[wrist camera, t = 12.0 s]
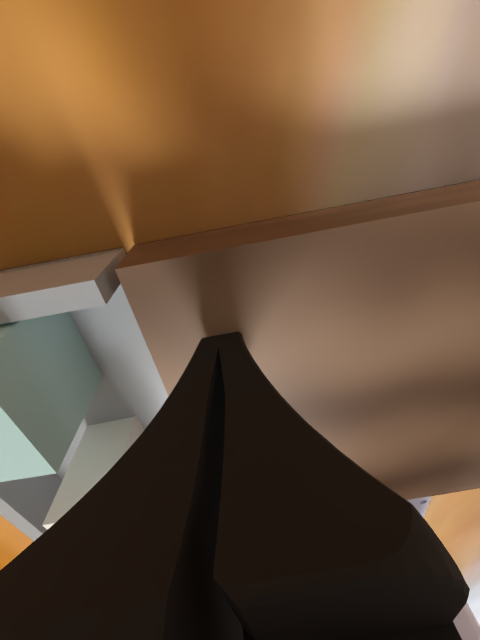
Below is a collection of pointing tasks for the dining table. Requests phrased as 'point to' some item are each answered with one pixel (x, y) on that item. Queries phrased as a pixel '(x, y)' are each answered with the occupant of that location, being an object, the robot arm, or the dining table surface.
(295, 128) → the dining table surface
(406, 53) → the dining table surface
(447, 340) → the board
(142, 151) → the dining table surface
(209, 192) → the dining table surface
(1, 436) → the grey-green block
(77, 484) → the tile
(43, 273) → the tray
